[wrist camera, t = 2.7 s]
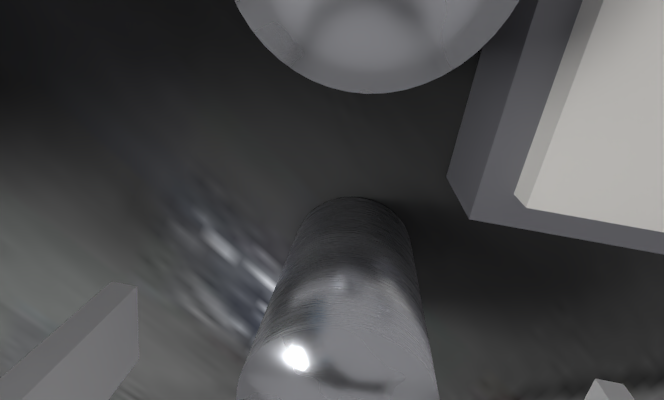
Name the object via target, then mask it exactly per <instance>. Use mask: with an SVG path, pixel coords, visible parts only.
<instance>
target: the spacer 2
mask: <svg viewBox="0 0 664 400" xmlns="http://www.w3.org/2000/svg"><path fill="white" fill-rule="evenodd" d="M237 400H440V399H439V393H438V388H437V382H436V377H435V371H434V366H433V360H432V355H431V349H430V344H429V339H428V333H427V328H426V322H425V317H424V311H423V306H422V300H421V295H420V289H419V284H418V279H417V273H416V268H415V262H414V257H413V251H412V246H411V241H410V237H409V234H408V231H407V229H406V227H405V226H404V224H403V222H402V221H401V220H400V219H399V217H398V216H397V215H396V214H395V213H394V212H392V211H391V210H390V209H388V208H387V207H386V206H384V205H382V204H380V203H378V202H375V201H373V200H370V199H366V198H360V197H343V198H337V199H333V200H330V201H328V202H325V203H323V204H321V205H320V206H318V207H317V208H315V209H314V210H313V211H311V212H310V213H309V214H308V215H307V216H306V218H305V219H304V220H303V222H302V224H301V225H300V227H299V230H298V232H297V235H296V237H295V240H294V242H293V245H292V247H291V250H290V252H289V255H288V257H287V260H286V262H285V265H284V267H283V270H282V272H281V275H280V277H279V280H278V282H277V285H276V287H275V290H274V292H273V295H272V297H271V300H270V302H269V305H268V307H267V310H266V312H265V315H264V317H263V320H262V322H261V325H260V327H259V330H258V332H257V335H256V337H255V340H254V342H253V345H252V347H251V350H250V352H249V355H248V357H247V360H246V362H245V365H244V367H243V370H242V372H241V375H240V378H239V380H238V385H237Z"/></svg>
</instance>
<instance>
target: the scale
mask: <svg viewBox="0 0 664 400" xmlns="http://www.w3.org/2000/svg"><path fill="white" fill-rule="evenodd" d="M446 177H447V179H448V181H449V183H450V185H451V187H452V189H453V190H454V192H455V194H456V196H457V198H458V200H459V202H460V204H461V205H462V207H463V209H464V211H465V213H466V215H467V217H468V218H469V219H470V220H476V221H481V222H487V223H492V224H498V225H503V226H509V227H515V228H520V229H526V230H531V231H537V232H542V233H548V234H553V235H559V236H564V237H570V238H575V239H581V240H586V241H592V242H597V243H603V244H609V245H614V246H620V247H625V248H631V249H636V250H642V251H647V252H653V253H658V254H664V0H520V1H519V2H518V4H517V5H516V7H515V8H514V10H513V12H512V13H511V15H510V16H509V18H508V19H507V20H506V21H505V23H504V24H503V25H502V26H501V28H500V29H499V30H498V31H497V32H496V34H495V35H494V36H493V37H492V38H491V39H490V40H489V41H488V42H487V43H486V44H485V45H484V46H483V47H482V51H481V54H480V58H479V61H478V65H477V69H476V72H475V76H474V79H473V83H472V86H471V90H470V94H469V97H468V101H467V104H466V108H465V111H464V115H463V119H462V122H461V126H460V129H459V133H458V136H457V140H456V143H455V147H454V151H453V154H452V158H451V161H450V165H449V168H448V172H447V176H446Z"/></svg>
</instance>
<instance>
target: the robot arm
mask: <svg viewBox="0 0 664 400" xmlns="http://www.w3.org/2000/svg"><path fill="white" fill-rule="evenodd" d="M138 360H139V335H138V302H137V286H134V285H129V284H124V283H119V282H114V281H111V282H110V283H109V284H108V285H107V286H106V287H104V288H103V289H102V290H101V291H100V292H99V293H98V294H96V295H95V296H94V297H93V298H92V299H91V300H89V301H88V302H87V303H86V304H85V305H84V306H83V307H81V308H80V309H79V310H78V311H77V312H76V313H75V314H73V315H72V316H71V317H70V318H69V319H68V320H66V321H65V322H64V323H63V324H62V325H61V326H60V327H58V328H57V329H56V330H55V331H54V332H53V333H52V334H50V335H49V336H48V337H47V338H46V339H45V340H44V341H42V342H41V343H40V344H39V345H38V346H37V347H35V348H34V349H33V350H32V351H31V352H30V353H29V354H27V355H26V356H25V357H24V358H23V359H22V360H21V361H19V362H18V363H17V364H16V365H15V366H14V367H12V368H11V369H10V370H9V371H8V372H7V373H6V374H4V375H3V376H2V377H1V378H0V400H108V399H109V398H110V397H111V395H112V394H113V393H114V392H115V390H116V389H117V388H118V386H119V385H120V384H121V382H122V381H123V380H124V379H125V377H126V376H127V375H128V373H129V372H130V371H131V370H132V368H133V367H134V366H135V364H136V363H137V362H138ZM584 400H635V399H634V398H633V396H632V395H631V394H630V392H629V391H628V390H627V388H626V387H625V386H624V384H620V383H615V382H610V381H605V380H600V379H595V380H594V382H593V384H592V386H591V387H590V389H589V391H588V393H587V395H586V397H585V399H584Z"/></svg>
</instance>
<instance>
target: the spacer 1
mask: <svg viewBox="0 0 664 400" xmlns="http://www.w3.org/2000/svg"><path fill="white" fill-rule="evenodd" d="M234 1H235V3H236V5H237V7H238V9H239V11H240V13H241V14H242V16H243V17H244V19H245V20H246V22H247V24H248V25H249V27H250V28H251V30H252V31H253V32H254V33H255V35H256V36H257V37H258V38H259V40H260V41H261V42H262V43H263V44H264V46H265V47H266V48H267V49H269V50H270V51H271V52H272V53H273V54H274V55H275V56H276V57H277V58H278V59H279V60H280V61H282V62H283V63H284V64H286V65H287V66H288V67H290V68H291V69H293V70H294V71H295V72H297V73H299V74H301V75H303V76H304V77H306V78H308V79H310V80H312V81H314V82H317V83H319V84H322V85H324V86H327V87H330V88H334V89H338V90H342V91H346V92H354V93H363V94H377V93H390V92H396V91H402V90H407V89H410V88H413V87H416V86H420V85H423V84H426V83H428V82H430V81H432V80H434V79H437V78H439V77H441V76H443V75H445V74H446V73H448V72H450V71H451V70H453V69H455V68H456V67H458V66H460V65H461V64H462V63H464V62H465V61H466V60H468V59H469V58H470V57H471V56H473V55H474V54H475V53H477V52H478V51H479V50H480V49H481V48H482V47H483V46H484V45H485V44H486V43H487V42H488V41H489V40H490V39H491V38H492V37H493V36H494V35H495V34H496V32H497V31H498V30H499V29H500V28H501V26H502V25H503V24H504V23H505V21H506V20H507V19H508V18H509V16H510V15H511V13H512V12H513V10H514V8H515V7H516V5H517V4H518V2H519V1H520V0H234Z"/></svg>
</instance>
